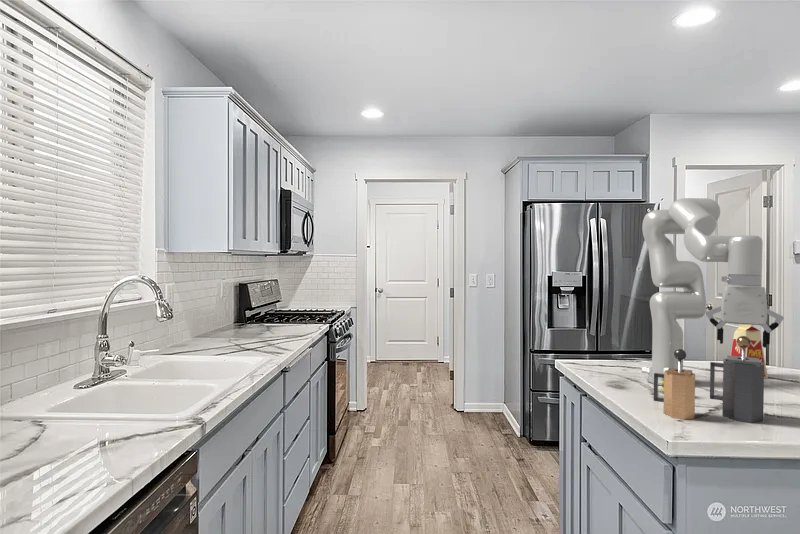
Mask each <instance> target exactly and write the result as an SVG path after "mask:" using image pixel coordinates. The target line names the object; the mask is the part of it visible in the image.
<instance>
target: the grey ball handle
mask: <svg viewBox="0 0 800 534" xmlns="http://www.w3.org/2000/svg"><path fill="white" fill-rule="evenodd" d="M674 357H675V358H676V359H678V371H680V372H681V363H682V360H683V361H684V360H685V359H686V358H687V352H686V351H685V350H684V349H683V350H682V349H677V350H675V351H674Z"/></svg>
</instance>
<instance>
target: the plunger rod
mask: <svg viewBox="0 0 800 534" xmlns="http://www.w3.org/2000/svg"><path fill="white" fill-rule="evenodd" d="M736 342H737V345H738V346H739V347H741V359H744V360H745V348H747V347H749V346H750V344H751V341H750V339H749V338H748V337H746V336H740V337H738V338H737V341H736Z"/></svg>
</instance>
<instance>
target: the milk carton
mask: <svg viewBox="0 0 800 534" xmlns="http://www.w3.org/2000/svg"><path fill="white" fill-rule="evenodd" d="M737 326H738V328H737V329H736V330H735V331H734V333H733V338H732V343H731V349H730V356H740V357H741V347H739V346H738V345H737V342H736V341H737V338H738V337H740V336H746V337H748V338H749V339H750V341H751V344H750V346H749V347H747V348H745V357H751V358H759V360H760V362H763V363H764V380H769V378H768V372H767V367H766V360H765V354H764V347H763V339H762V335H761V330H760V329H758V328H756V327H754V325H748V324H737Z"/></svg>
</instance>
